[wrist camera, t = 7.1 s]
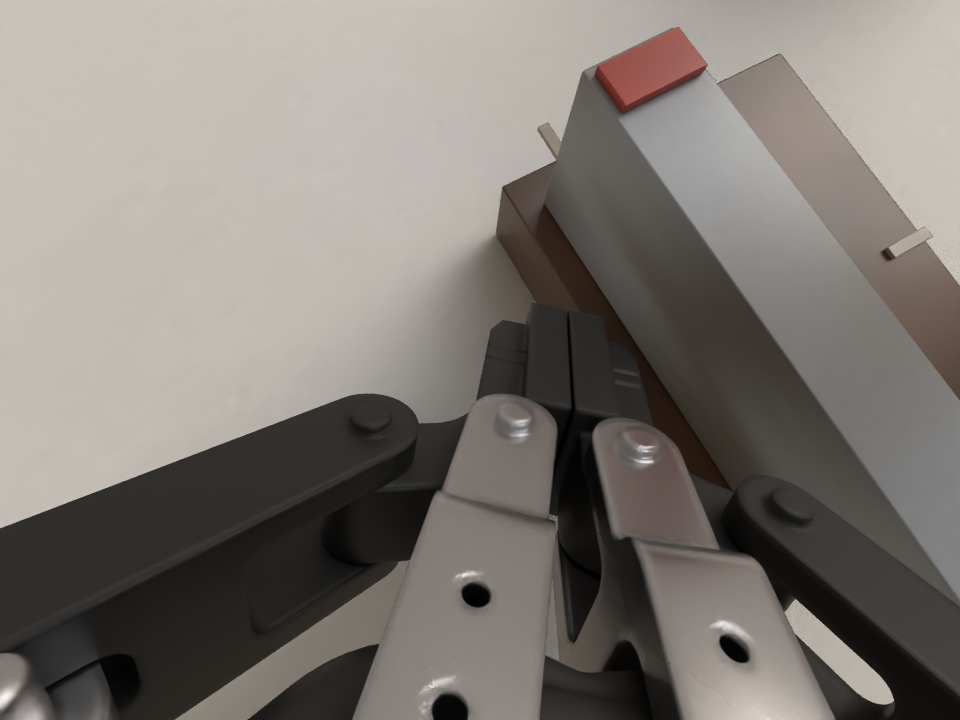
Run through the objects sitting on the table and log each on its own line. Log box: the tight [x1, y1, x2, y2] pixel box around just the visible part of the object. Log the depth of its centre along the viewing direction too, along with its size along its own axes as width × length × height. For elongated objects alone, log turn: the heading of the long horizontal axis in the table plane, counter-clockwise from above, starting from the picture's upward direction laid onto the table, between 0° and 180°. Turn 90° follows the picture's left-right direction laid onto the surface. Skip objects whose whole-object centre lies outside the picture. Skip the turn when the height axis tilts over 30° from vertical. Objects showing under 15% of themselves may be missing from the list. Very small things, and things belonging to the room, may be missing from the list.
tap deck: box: [496, 54, 960, 492], centre depth 16 cm, size 16×16×3 cm
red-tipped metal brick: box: [544, 27, 960, 606], centre depth 12 cm, size 12×2×5 cm, turn 30°
